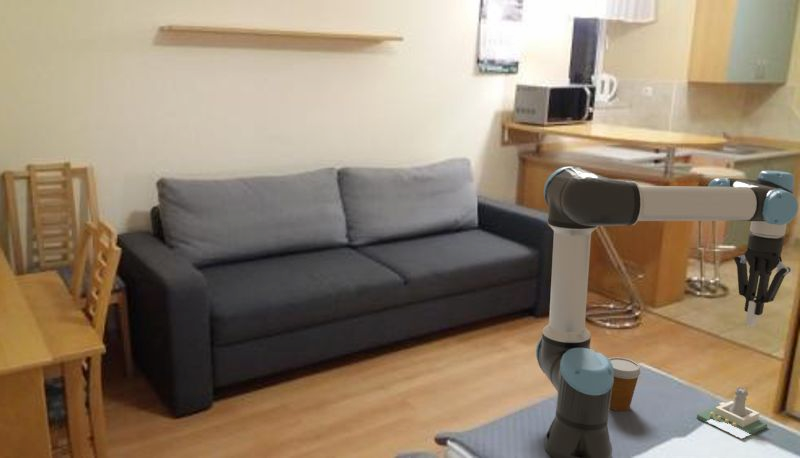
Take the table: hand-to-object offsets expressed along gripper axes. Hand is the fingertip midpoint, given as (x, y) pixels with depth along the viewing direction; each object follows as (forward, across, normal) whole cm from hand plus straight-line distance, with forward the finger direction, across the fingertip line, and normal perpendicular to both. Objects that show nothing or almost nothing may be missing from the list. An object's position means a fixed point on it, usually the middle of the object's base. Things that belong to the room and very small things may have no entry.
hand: (750, 325), depth 163 cm
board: (+26, 0, +2) cm, 26 cm away
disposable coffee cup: (+27, +21, +21) cm, 40 cm away
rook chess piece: (+26, 0, 0) cm, 26 cm away
